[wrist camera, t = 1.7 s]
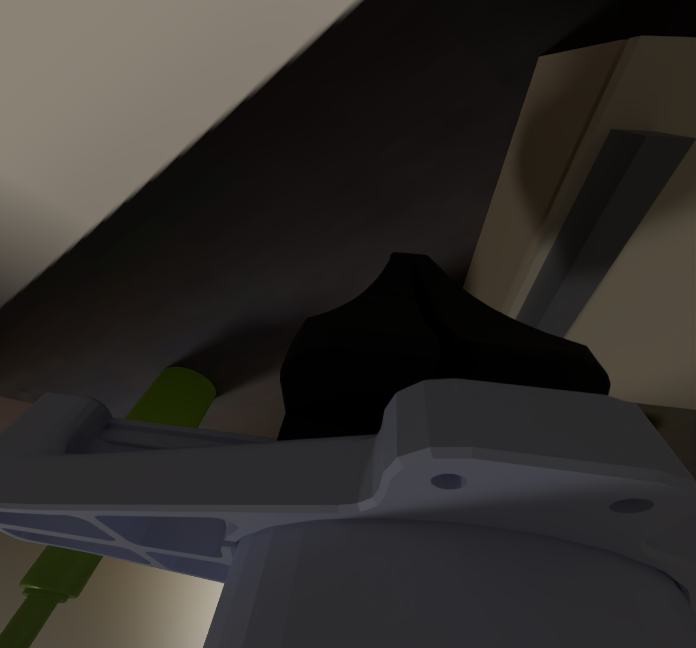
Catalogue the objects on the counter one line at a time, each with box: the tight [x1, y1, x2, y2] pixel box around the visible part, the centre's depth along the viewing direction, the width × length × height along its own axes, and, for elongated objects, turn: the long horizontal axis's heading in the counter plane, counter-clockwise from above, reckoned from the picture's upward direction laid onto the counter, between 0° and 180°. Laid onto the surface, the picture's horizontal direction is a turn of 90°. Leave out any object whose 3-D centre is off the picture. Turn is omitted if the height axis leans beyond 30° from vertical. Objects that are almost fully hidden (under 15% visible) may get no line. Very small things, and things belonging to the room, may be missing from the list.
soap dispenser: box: [0, 366, 216, 648], centre depth 24 cm, size 6×7×20 cm
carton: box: [463, 39, 628, 313], centre depth 14 cm, size 14×16×6 cm
